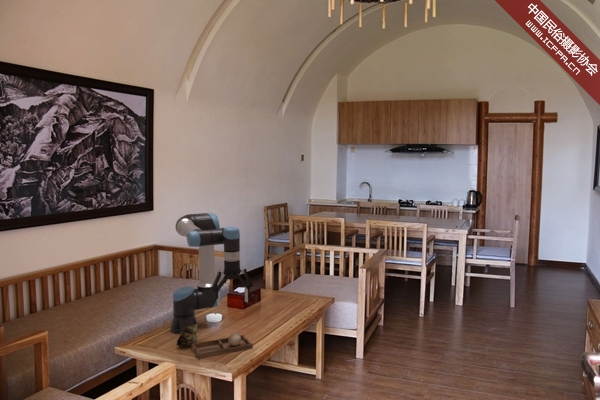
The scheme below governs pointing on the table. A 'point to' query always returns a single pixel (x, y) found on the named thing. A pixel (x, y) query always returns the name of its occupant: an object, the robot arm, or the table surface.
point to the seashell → (187, 336)
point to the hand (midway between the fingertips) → (232, 303)
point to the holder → (219, 347)
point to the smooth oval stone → (234, 339)
